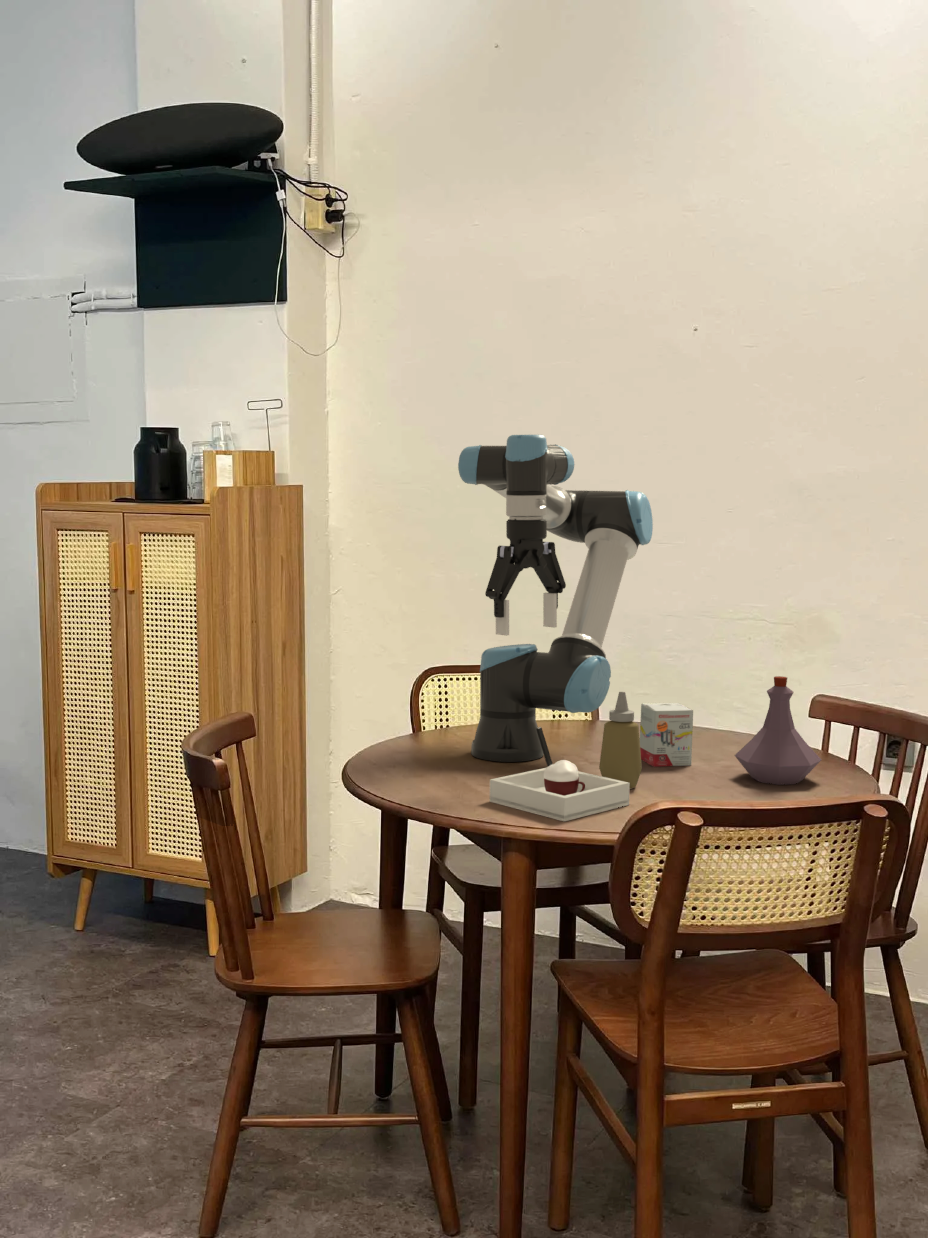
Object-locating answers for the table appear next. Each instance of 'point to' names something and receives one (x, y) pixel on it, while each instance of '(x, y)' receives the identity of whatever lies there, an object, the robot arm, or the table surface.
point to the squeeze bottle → (621, 745)
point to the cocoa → (559, 772)
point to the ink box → (666, 734)
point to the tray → (532, 796)
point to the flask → (778, 744)
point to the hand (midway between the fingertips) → (526, 630)
